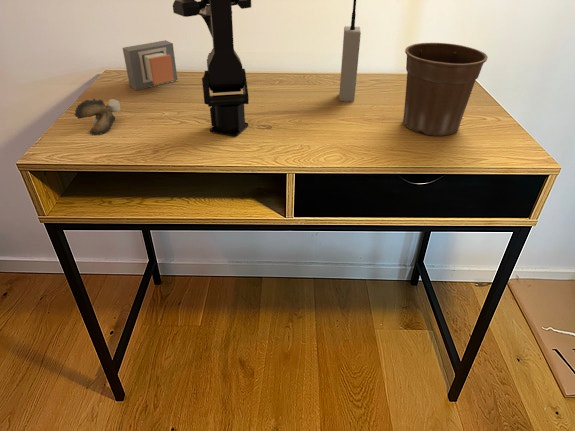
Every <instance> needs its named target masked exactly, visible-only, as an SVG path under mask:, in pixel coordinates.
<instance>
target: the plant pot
mask: <svg viewBox="0 0 575 431" xmlns="http://www.w3.org/2000/svg"><path fill="white" fill-rule="evenodd" d="M404 53H405V54H406V66H405V70H406V73H407V74H406V85H405V95H404V96H405V97H404V98H405V99H404V109H403V110H404V111H403V118H402V121H403V124H404V126H405V127H406V128H407V129H409V130H411V131H412V132H416V133H419V132H422V133H424V134H425V135H427V136H436V137H437V136H438V137H441V136H449V135H453V134H456V133H457V131H458V130H459V129H460V125H461V122H462V121H463V120H462V119H463V116H464V114H465V112H466V108H467V107H468V106H467V105H468V102H469V100H470V97H471V94H472V92H473V88H474V87H475V83H476V80H477V79H478V78H479V76H480V73H481V71H482V68H483V65H484V64H485V63H486V62H487V60H488V58H489V57H488V55H487V53H485V52H484V51H481V50H479V49H476V48H474V47H470V46H466V45H462V44H454V43H446V42H421V43H419V42H418V43H414V44H411V45H408V46H406V48H405V51H404Z"/></svg>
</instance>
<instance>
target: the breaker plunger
mask: <svg viewBox="0 0 575 431" xmlns="http://www.w3.org/2000/svg"><path fill="white" fill-rule="evenodd" d="M142 59H143V65H144V71H145V77H146V78H148V79H150V80H151V81H153V84H160V83H164V82H169V81H173V80H174V77H173V69H172V62H171V55H169V54H168V55H165V54H163V53H161V52H154V53H149V54H143V55H142Z"/></svg>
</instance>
